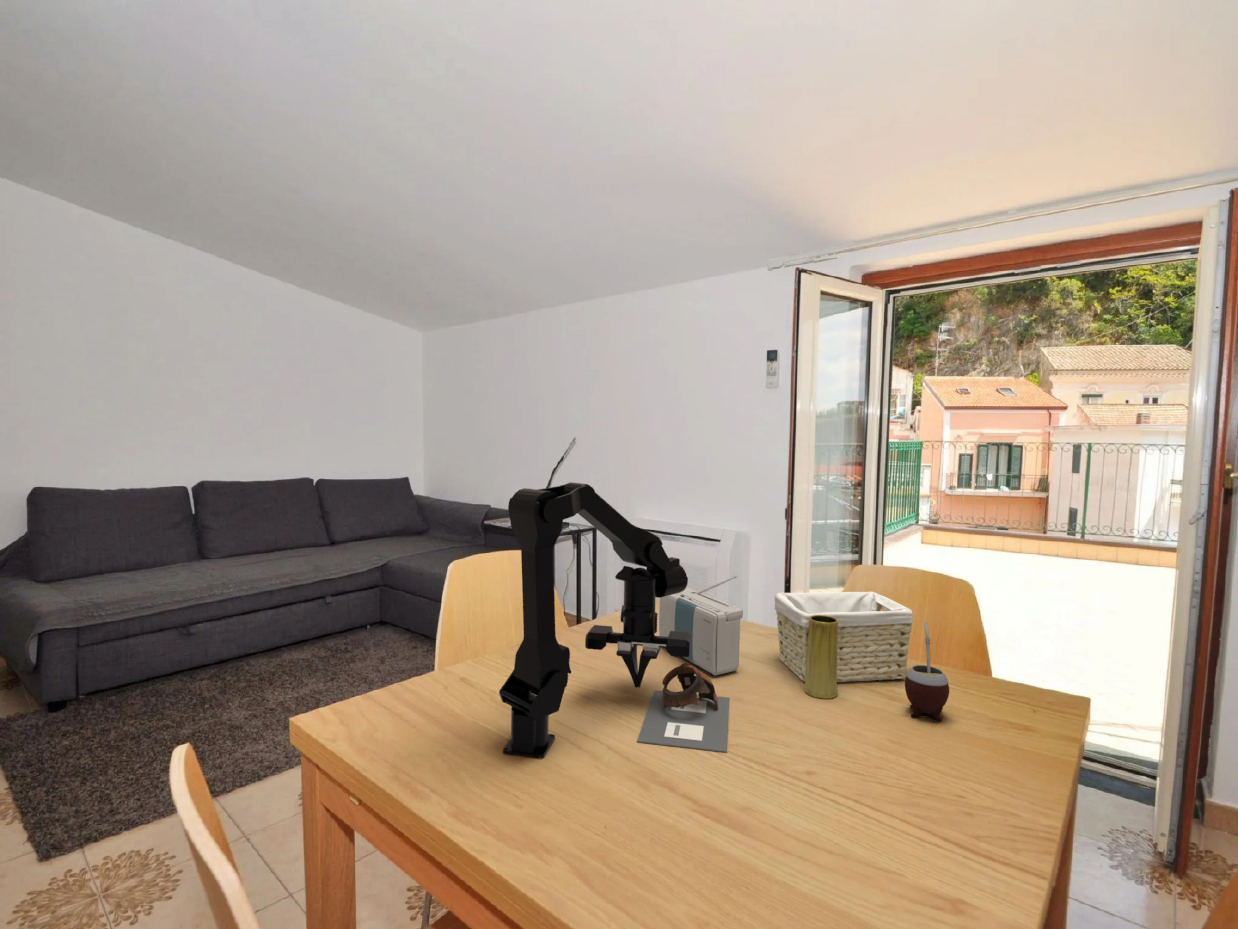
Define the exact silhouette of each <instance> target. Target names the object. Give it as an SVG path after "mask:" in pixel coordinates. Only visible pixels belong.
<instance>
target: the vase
mask: <svg viewBox="0 0 1238 929" xmlns="http://www.w3.org/2000/svg"><path fill="white" fill-rule="evenodd" d="M837 641H838V620H837V619H836V618H834V617H831V616H827V615H813V616H810V617H809V634H808V650H807V661H806V673H805V682H804V687H803V690H804V692H805V693H806V694H807V695H809V697H810V696H811V697H813V698H816V699H821V700H822V699H823V700H827V699H834V698H836V697H837V696H838V687H837V686H838V682H837Z"/></svg>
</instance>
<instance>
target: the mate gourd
mask: <svg viewBox="0 0 1238 929" xmlns="http://www.w3.org/2000/svg"><path fill="white" fill-rule="evenodd" d="M923 627H924V632H925V638H924V640H925V643H924V644H926V649H925V650H926V665H922V664H920V665H919V664H918V665H913V666H912V667H910V668H909V669H908V670H907V672H906V675H905V678H904V689H905V690H904V691H905V694H906V697H907V700H908V701H909V703H910V704H909V709H911V711H912V713H910V717H911V718H913V719H917V718H919V719H920V718H923V717H926V718H928V719H930V720H932V721H933V722H936V723H938V724H939V723H942V718H941V715H942V712H943V709H944V706H945V705H946V704H947V702H948V699H949V696H950V686H949V679H948V678H947V675H946V674H945V673H944V671H942V670H941V669H940V668H937V667H935V666H934V667H933V666H931V650H930V647H931V645H930V644H931V638H930V635H929V628H928V623H927V622H926V621H925V622H923Z"/></svg>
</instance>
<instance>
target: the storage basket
mask: <svg viewBox="0 0 1238 929" xmlns="http://www.w3.org/2000/svg"><path fill="white" fill-rule="evenodd" d="M881 609H882V610H883V611H882V610H881ZM774 610H775V612H776V613H775V614H776V615H777V616H776V620H777V631H778V634H777V637H778V638H777V639H778V644H779V645H778V646H779V659H780V661H781V662H782V663H783V664H784V666H786V667H787V668H788V669H789V670H790V671H791V672H792V673H794V674H795V676H796V677H798V678H799V680H801V681H803V682H804V683H805V673H806V661H807V650H808V634H809V617H810V616H813V615H827V616H831V617H834V618H836V619H837V620H838V641H837V683H846V682H847V683H848V682H871V681H877V680H878V681H883V680H891V681H892V680H901V679H902V680H903V679H905V678H906V673H907V672H906V671H907V664H908V658H909V657H908V654H909V649H910V648H909V647H910V645H909V644H910V640H911V633H912V628H913V625H912V624H913V622H914V621H913V619H914V616H913V615H914V614H913V610H912V609H910V608H908V607H907V606H904V605H903V604H901V603H900V602H897V601H895V600H893V599H891V598H889V597H886V596H885V595H882V594H879V593H877V592H875V591H872V590H871V591H839V592H838V591H836V592H832V591H831V592H778V593H776V594H774Z"/></svg>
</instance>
